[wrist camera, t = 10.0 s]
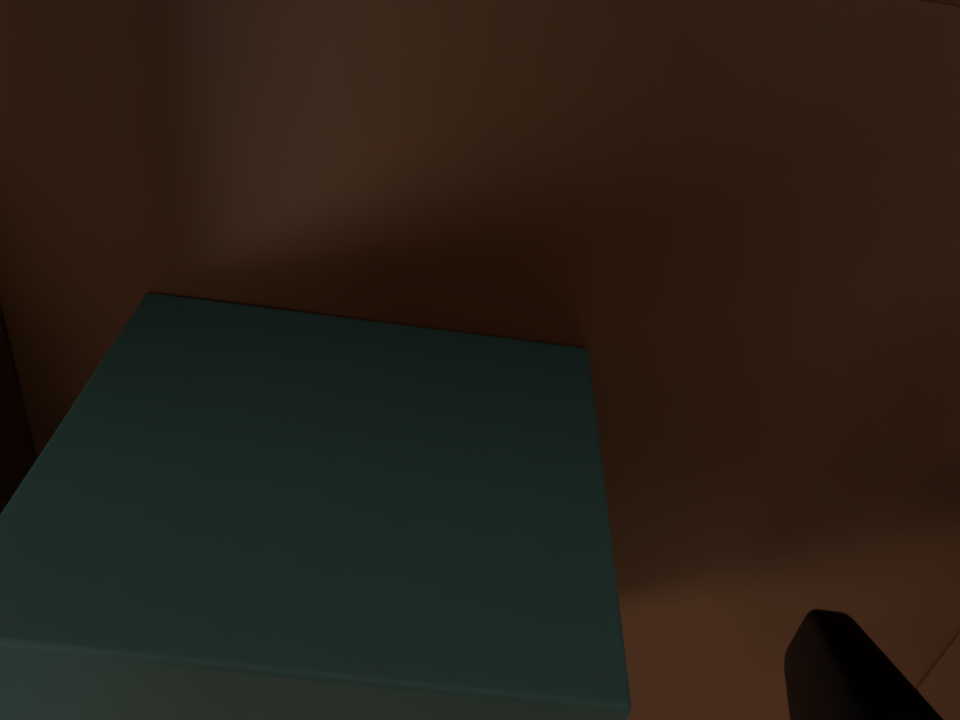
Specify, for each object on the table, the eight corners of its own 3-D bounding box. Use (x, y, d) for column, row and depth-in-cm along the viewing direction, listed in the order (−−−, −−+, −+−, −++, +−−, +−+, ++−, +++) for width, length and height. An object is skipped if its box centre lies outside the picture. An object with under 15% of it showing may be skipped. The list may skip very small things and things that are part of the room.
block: (589, 345, 10) (634, 710, 6) (520, 617, 13) (522, 973, 9) (145, 290, 9) (-84, 635, 6) (180, 580, 12) (42, 930, 9)
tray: (1513, -77, 7) (2016, 18, 5) (837, 801, 17) (894, 989, 14) (-210, -360, 7) (-639, -415, 4) (78, 724, 16) (-4, 909, 13)
